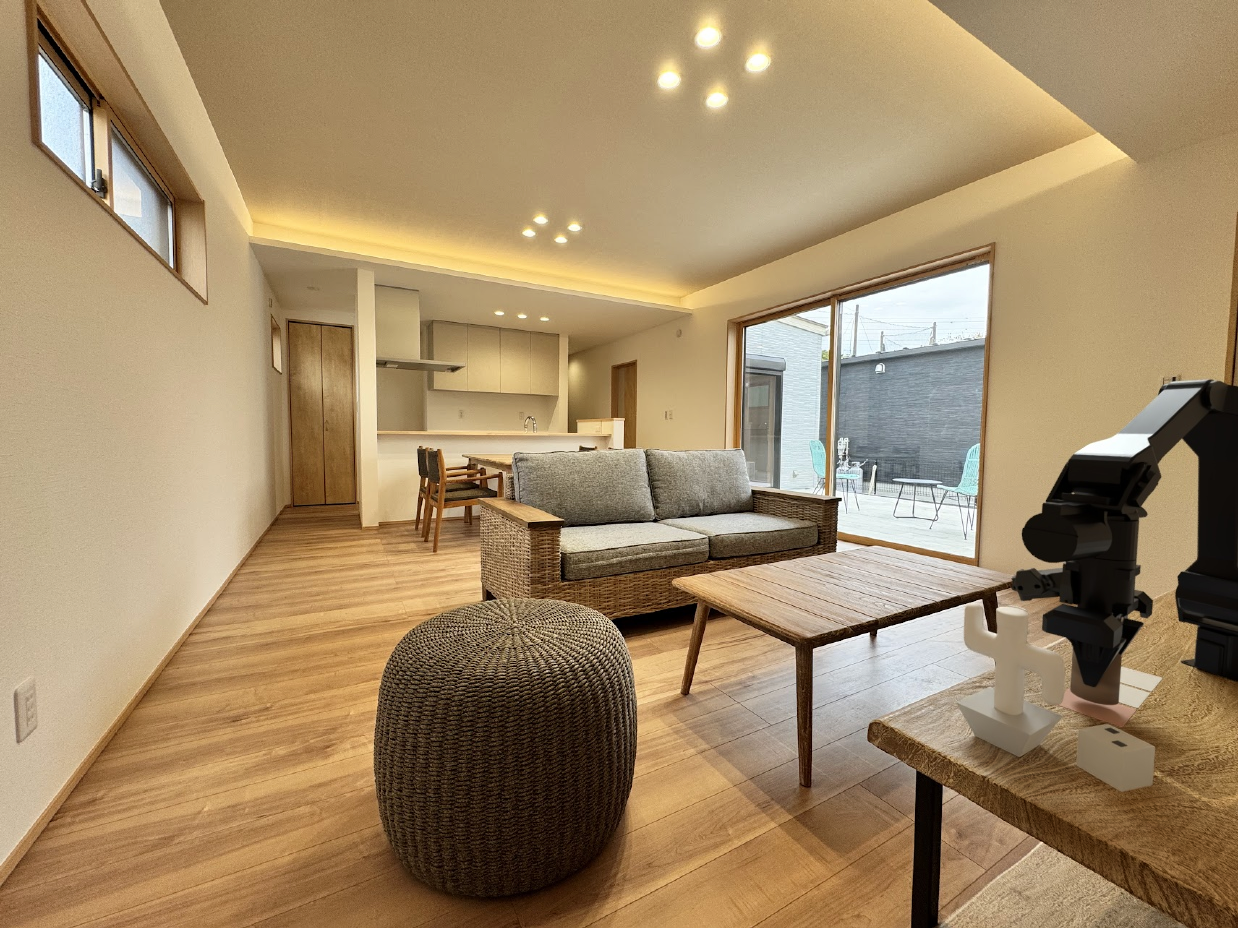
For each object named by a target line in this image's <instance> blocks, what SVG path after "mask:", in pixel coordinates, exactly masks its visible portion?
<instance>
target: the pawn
mask: <svg viewBox="0 0 1238 928" xmlns="http://www.w3.org/2000/svg"><path fill="white" fill-rule="evenodd" d="M1071 653H1072V655H1071V656H1072V657H1071V672H1070V686H1069V688H1070V691H1071V692H1072V693H1073V694H1074V695H1076V696H1077V697H1079V698H1082V699H1084V700H1087V701H1090V702H1093V703H1097V704H1103V705H1116V704H1120V703H1119V691H1120V684H1121V683H1120V676H1121V666H1122V656H1121V655H1120V654H1119V653H1118V654H1117V655H1116V657H1115V658H1114V660H1113V661H1112V663H1111V665H1110V666H1109V668H1108V669H1107V671H1106V672H1105V674H1104V675H1103V677H1102V679H1101V680H1100V682H1099V683H1098V685H1097V686H1096V687H1091V686H1088V685H1085V684H1084V683H1083V680H1082V677H1081V673H1080V670H1079V666H1078V663H1077V659H1076V656H1075V653H1074V650H1073V649H1072V652H1071Z"/></svg>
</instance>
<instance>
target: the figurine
mask: <svg viewBox="0 0 1238 928" xmlns="http://www.w3.org/2000/svg"><path fill="white" fill-rule="evenodd" d="M995 611H996V613H995V615H996V616H995V617H996V620H995V621H996V625H997V626H996V628H997V629H996V632H997V633H995V632H992V631H988V630H986V628H985V624H984V607H983V606H982V605H981V604H980V603H977V602H970V603H967V604H966V606H965V607H964V613H963V614H964V616H963V641H964V645H965V646H966V648H968V649H969V650H970V651H972V652H973V653H977V654H979V655H982V656H986V657H988V658H991V659H993V661H994V662H995V669H994V670H995V672H994V687H991V686H987V687H986V688H983V689H981V690H979V691H977V692H974V693H973V694H970V695H968V696H966V697H964V698H961V699H959V700H957V701H956V702H955V704H956V705H957V706H958V708H959V710H960V712H961V715H962V716H963V718H964V719H965V720H966V721H965V722H967V725H968V726H969V728H970V730H971V731H972V734H973V735H974V737H977V738H979V739H980V740H982V741H985V742H986V743H989V744H991V745H993V746H995V747H997V748H999V749H1002V750H1004V751H1006V752H1007V753H1010V754H1012V755H1014V756H1016V757H1018V758H1021V757H1022V756H1023V755H1026V754H1027V753H1028V752H1030V751H1032V750H1034V749H1035V748H1037V747H1039V746H1040V745H1041V744H1042V742H1043V741H1044V740H1045V739H1046V738H1047V736H1048V735H1049V734H1050V733H1051V732H1052V730H1054V728H1055V727H1056V726H1057V724H1058V723H1059V722H1060V721H1061V720H1062V718H1063V717H1064V715H1062V714H1060V713H1058V712H1054V711H1053V710H1050V709H1047V708H1045V707H1042V706H1039V705H1037V704H1035V703H1033V702H1029V701H1027V700H1025V685H1026V684H1025V683H1026V671H1029V672H1031V673H1034V674H1037V675H1038V676H1039V677H1040V681H1041V698H1042V701H1043V702H1044V703H1045V704H1047V705H1050V706H1059V704H1061V703H1062V702H1063V699H1064V692H1065V680H1066V666H1065V665H1066V664H1065V660H1064V658H1063V656H1061V654H1059V653H1057V652H1056V651H1054V650H1051V649H1048V648H1047V649H1046V648H1044V647H1040V646H1037V645H1033V644H1030V643H1029V642H1028V635H1030V633H1031V631H1030V629H1029V622H1030V621H1029V612H1028V610H1027V609H1025V608H1024V607H1020V606H1017V605H1011V604H1008V605H1007V606H1000V607H997V608H996V610H995Z"/></svg>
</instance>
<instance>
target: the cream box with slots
mask: <svg viewBox="0 0 1238 928" xmlns="http://www.w3.org/2000/svg"><path fill="white" fill-rule="evenodd" d="M1077 731H1078V732H1077V745H1076V746H1077V747H1076V761H1075V762H1076V765H1075V766H1077V767H1078V768H1080V769H1081V770H1084V772H1087V773H1088V774H1090V775H1091V776H1094V777H1095V778H1097V779H1099V780H1100V781H1102V782H1104V783H1105V784H1107V785H1109V786H1111V787H1112V788H1114V789H1115V790H1117V791H1119V792H1129V791H1132V790H1136V789H1137V790H1138V789H1141V788H1142V789H1143V788H1146V787H1151V786H1153V783H1154V780H1153V779H1154V769H1155V757H1156V756H1155V755H1156V754H1155V753H1156V746H1154V745H1153V744H1150V743H1149V742H1147V741H1144V740H1143V739H1140V738H1139V737H1136V736H1134V735H1132V734H1131V733H1128V732H1126V731H1124V730H1122V729H1120V728H1117V726H1116V727H1115V725H1112V724H1110V723H1105V724H1099V725H1093V726H1087V727H1081V728H1078V730H1077Z"/></svg>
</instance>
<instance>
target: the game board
mask: <svg viewBox="0 0 1238 928" xmlns="http://www.w3.org/2000/svg"><path fill="white" fill-rule="evenodd" d="M1163 679H1164V678H1163V677H1161V676H1157V675H1155V674H1154V675H1153V674H1150V673H1147V672H1143V671H1140V670H1135V669H1131V668H1129V667H1126V666H1125V667H1124V666H1122V665H1121V676H1120V691H1119V703H1118V704H1116V705H1103V704H1097V703H1093V702H1090V701H1087V700H1084V699H1082V698H1079V697H1077V696H1076V695H1074V694H1073V693H1072V692H1071V691H1070V687H1069V688H1068V689H1066V690H1064V699H1063V702H1062V703H1061V704H1059V705H1058V706H1060V707H1062V708H1065V709H1068V710H1070V711H1073V712H1077V713H1079V714H1082V715H1085V716H1088V717H1091V718H1094V719H1097V720H1099V721H1102V722H1106V723H1107V724H1110V725H1113V726H1116V727H1120V728H1124V726H1125V725H1126V724H1127V723H1128V721H1129V720H1130V719H1131V717H1132V716H1133V715H1134V714H1135V712H1136V711H1137V709H1139V708H1140V707H1141V705H1142V704H1143V703H1144V702H1145V701H1146V699H1147V698H1148V697H1149V696H1150V694H1151V693H1152V692H1153V691H1154V690H1155V689H1156V687H1157V686H1158V684H1160V683H1161V681H1162V680H1163ZM1122 704H1123V705H1122Z"/></svg>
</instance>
